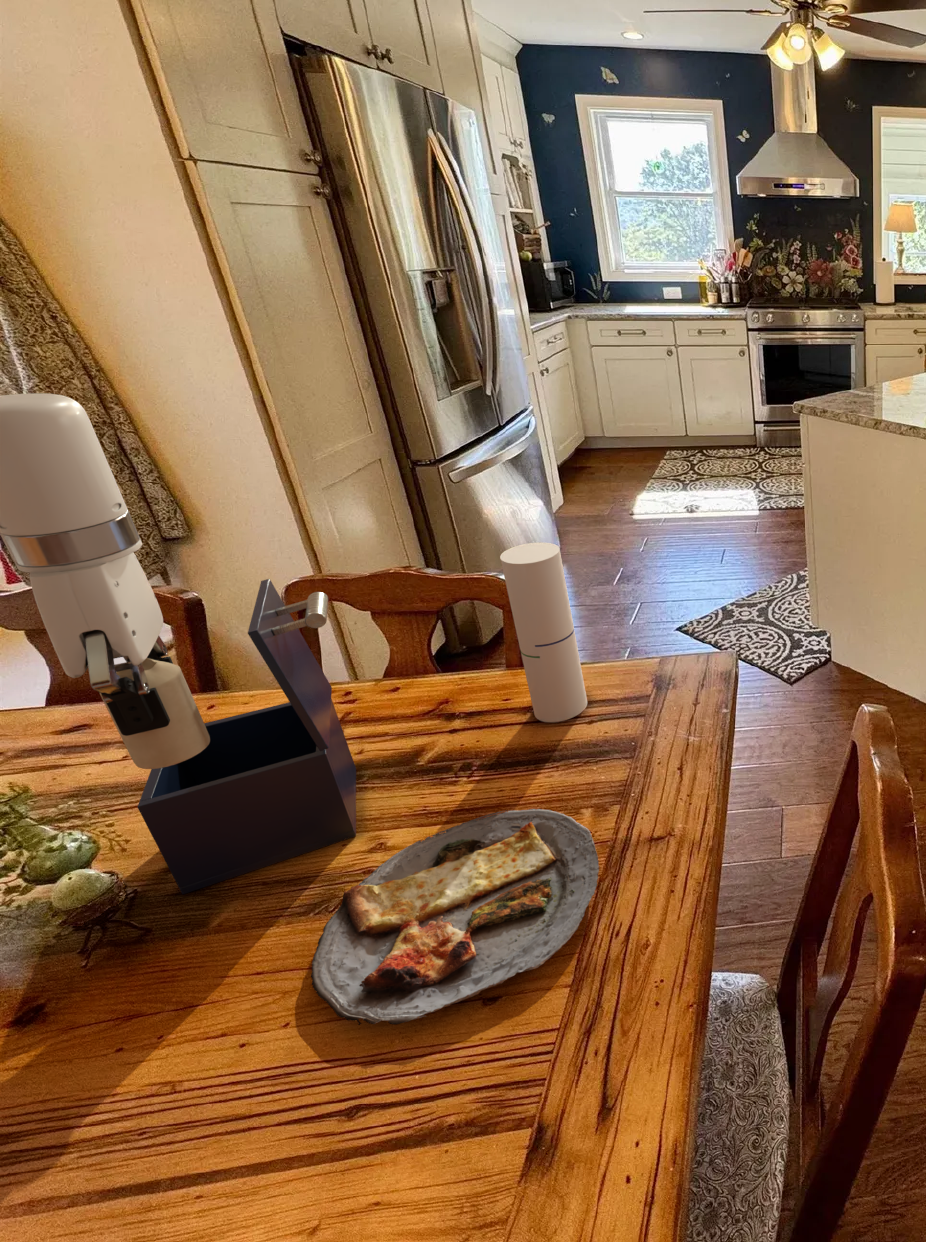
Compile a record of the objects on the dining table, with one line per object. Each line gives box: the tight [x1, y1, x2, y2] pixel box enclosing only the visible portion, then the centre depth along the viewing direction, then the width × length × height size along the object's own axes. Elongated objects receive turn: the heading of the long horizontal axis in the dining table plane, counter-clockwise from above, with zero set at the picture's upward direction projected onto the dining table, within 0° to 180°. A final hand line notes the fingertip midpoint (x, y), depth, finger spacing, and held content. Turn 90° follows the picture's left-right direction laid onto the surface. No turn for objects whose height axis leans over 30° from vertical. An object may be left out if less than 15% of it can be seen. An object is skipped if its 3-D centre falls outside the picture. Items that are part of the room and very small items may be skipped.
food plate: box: [310, 808, 601, 1026], centre depth 75 cm, size 25×23×4 cm
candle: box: [99, 658, 210, 770], centre depth 71 cm, size 6×6×10 cm
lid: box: [247, 578, 333, 751], centre depth 82 cm, size 16×14×5 cm
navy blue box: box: [137, 698, 357, 895], centre depth 83 cm, size 15×14×12 cm
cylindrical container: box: [499, 541, 588, 723], centre depth 103 cm, size 7×7×25 cm
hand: (154, 710), depth 71 cm, fingers closed on candle, 5 cm apart
